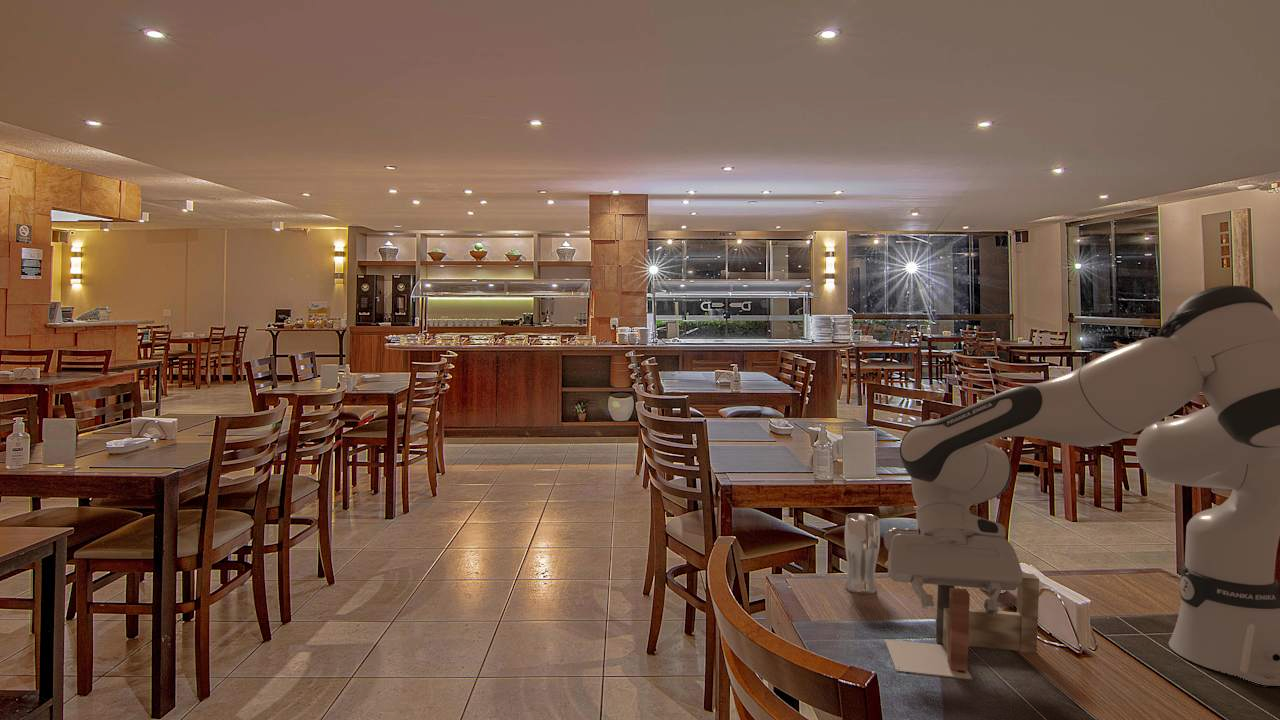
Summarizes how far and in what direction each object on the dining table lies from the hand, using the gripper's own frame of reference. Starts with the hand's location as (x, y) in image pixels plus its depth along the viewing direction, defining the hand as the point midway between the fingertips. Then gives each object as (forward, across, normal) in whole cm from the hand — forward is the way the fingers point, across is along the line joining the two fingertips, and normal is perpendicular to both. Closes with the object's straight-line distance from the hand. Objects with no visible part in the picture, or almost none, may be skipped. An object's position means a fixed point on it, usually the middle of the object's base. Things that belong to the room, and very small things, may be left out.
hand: (959, 610), depth 106 cm
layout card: (+5, -5, +7) cm, 10 cm away
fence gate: (+5, 0, +8) cm, 9 cm away
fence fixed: (0, +6, +12) cm, 14 cm away
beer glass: (-15, -11, +28) cm, 34 cm away
